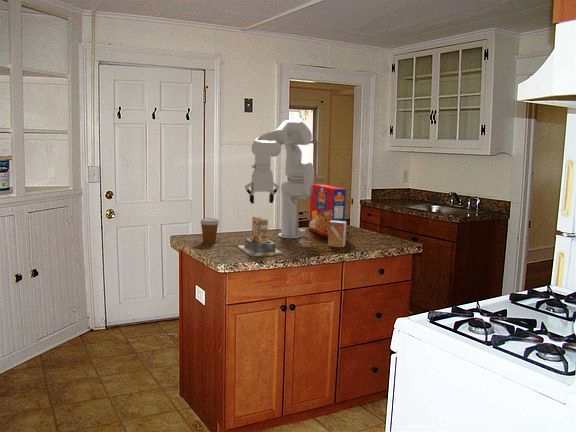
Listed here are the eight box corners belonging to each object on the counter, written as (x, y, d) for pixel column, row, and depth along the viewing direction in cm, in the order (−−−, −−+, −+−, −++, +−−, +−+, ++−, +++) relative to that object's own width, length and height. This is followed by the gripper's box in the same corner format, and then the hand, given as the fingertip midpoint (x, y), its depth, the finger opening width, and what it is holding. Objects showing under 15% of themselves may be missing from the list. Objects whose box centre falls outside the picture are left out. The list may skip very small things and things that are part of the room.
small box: (327, 246, 287) (328, 221, 285) (330, 244, 293) (331, 220, 291) (342, 247, 285) (344, 223, 283) (345, 245, 291) (346, 221, 289)
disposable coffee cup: (196, 242, 285) (196, 219, 283) (210, 240, 291) (211, 217, 290) (207, 245, 278) (208, 221, 276) (222, 243, 285) (222, 220, 283)
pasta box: (309, 229, 335) (311, 184, 331) (320, 229, 338) (322, 184, 334) (331, 238, 310) (333, 189, 306) (343, 237, 313) (346, 189, 309)
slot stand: (268, 246, 281) (268, 236, 280) (282, 254, 263) (282, 244, 262) (238, 247, 275) (238, 237, 274) (250, 256, 257) (250, 245, 256)
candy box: (267, 250, 266) (268, 219, 264) (260, 251, 264) (261, 219, 262) (258, 246, 274) (259, 216, 271) (251, 247, 271) (251, 216, 269)
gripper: (247, 168, 256) (246, 204, 259) (282, 168, 263) (281, 203, 266) (242, 166, 263) (242, 202, 266) (276, 167, 270) (275, 201, 272)
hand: (261, 203), depth 266 cm, fingers open, 9 cm apart
